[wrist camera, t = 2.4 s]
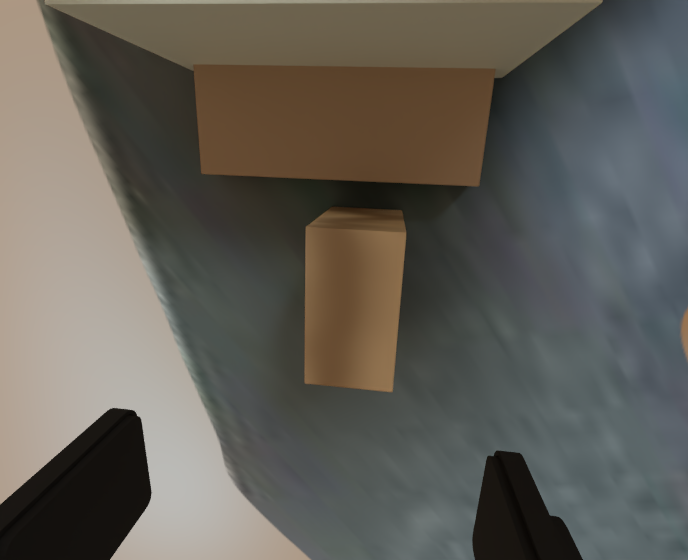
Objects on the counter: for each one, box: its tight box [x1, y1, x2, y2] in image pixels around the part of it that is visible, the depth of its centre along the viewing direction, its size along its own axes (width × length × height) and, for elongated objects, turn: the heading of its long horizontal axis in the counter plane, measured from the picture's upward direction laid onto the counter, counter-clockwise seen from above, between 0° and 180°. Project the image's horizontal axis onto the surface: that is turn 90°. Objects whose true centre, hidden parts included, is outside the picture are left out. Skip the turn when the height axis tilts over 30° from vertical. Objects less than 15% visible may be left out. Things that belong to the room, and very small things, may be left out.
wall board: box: [44, 0, 603, 186], centre depth 20 cm, size 20×8×12 cm, turn 88°
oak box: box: [305, 207, 406, 392], centre depth 24 cm, size 5×10×9 cm, turn 178°
